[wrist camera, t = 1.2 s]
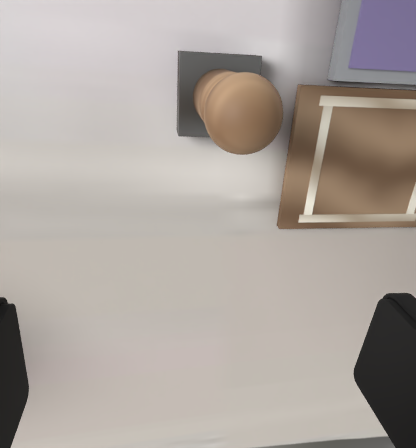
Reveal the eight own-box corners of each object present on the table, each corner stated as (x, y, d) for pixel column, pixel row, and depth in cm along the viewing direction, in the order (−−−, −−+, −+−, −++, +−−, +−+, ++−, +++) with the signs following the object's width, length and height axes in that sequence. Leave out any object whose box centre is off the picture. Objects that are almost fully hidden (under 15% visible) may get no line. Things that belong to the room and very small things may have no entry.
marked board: (297, 84, 30) (302, 85, 29) (467, 92, 32) (475, 93, 32) (276, 225, 36) (279, 229, 35) (422, 223, 38) (428, 227, 37)
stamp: (177, 50, 28) (196, 52, 17) (253, 55, 29) (319, 60, 17) (176, 130, 30) (191, 178, 19) (246, 131, 31) (299, 178, 20)
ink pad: (357, -88, 25) (369, -96, 24) (493, -71, 27) (511, -77, 26) (327, 79, 30) (335, 80, 29) (444, 85, 32) (457, 87, 31)
